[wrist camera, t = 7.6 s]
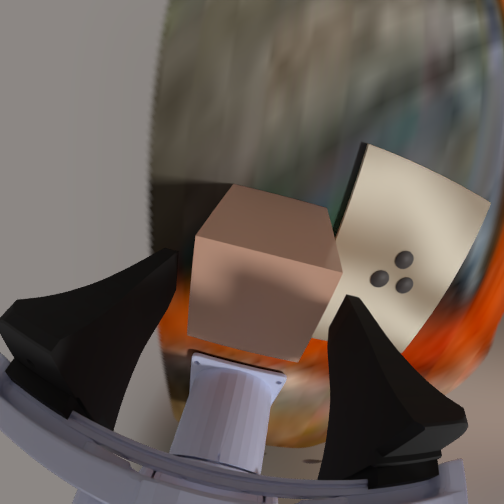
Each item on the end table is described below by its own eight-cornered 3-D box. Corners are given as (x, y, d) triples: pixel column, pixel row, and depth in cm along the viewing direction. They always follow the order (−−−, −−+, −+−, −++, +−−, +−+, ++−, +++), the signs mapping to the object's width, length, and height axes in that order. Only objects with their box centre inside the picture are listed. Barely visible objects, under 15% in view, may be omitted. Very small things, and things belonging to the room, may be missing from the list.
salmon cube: (299, 283, 17) (297, 362, 11) (219, 262, 17) (187, 334, 12) (326, 207, 14) (342, 272, 9) (233, 183, 14) (195, 235, 9)
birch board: (400, 350, 18) (401, 353, 18) (295, 331, 19) (295, 335, 18) (488, 201, 12) (491, 203, 11) (367, 143, 12) (369, 144, 12)
